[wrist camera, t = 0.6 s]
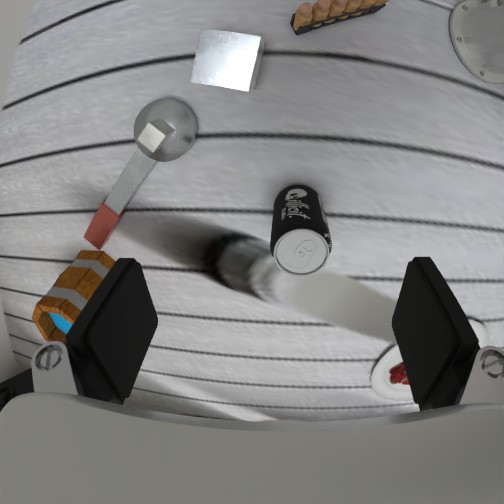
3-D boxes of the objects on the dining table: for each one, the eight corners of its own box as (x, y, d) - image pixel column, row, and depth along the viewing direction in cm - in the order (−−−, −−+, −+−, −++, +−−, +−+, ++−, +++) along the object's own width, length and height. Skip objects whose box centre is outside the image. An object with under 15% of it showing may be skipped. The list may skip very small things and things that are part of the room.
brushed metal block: (216, 36, 29) (201, 28, 24) (265, 44, 30) (261, 36, 24) (207, 80, 33) (190, 82, 27) (254, 88, 33) (248, 91, 27)
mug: (62, 260, 51) (19, 310, 39) (104, 238, 47) (57, 295, 35) (117, 330, 60) (90, 384, 48) (164, 320, 56) (138, 383, 44)
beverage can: (264, 207, 41) (256, 255, 31) (297, 173, 38) (301, 213, 28) (298, 235, 43) (301, 289, 33) (332, 205, 40) (346, 253, 30)
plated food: (498, 344, 54) (503, 354, 51) (409, 404, 68) (411, 414, 65) (456, 290, 46) (463, 302, 43) (343, 372, 61) (344, 385, 58)
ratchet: (164, 87, 33) (144, 90, 28) (210, 123, 36) (198, 132, 31) (81, 222, 46) (62, 240, 41) (115, 250, 48) (99, 271, 43)
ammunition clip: (296, 35, 29) (302, 17, 19) (289, 23, 28) (291, -1, 18) (375, 12, 25) (411, -9, 15) (369, 0, 24) (402, -26, 14)
